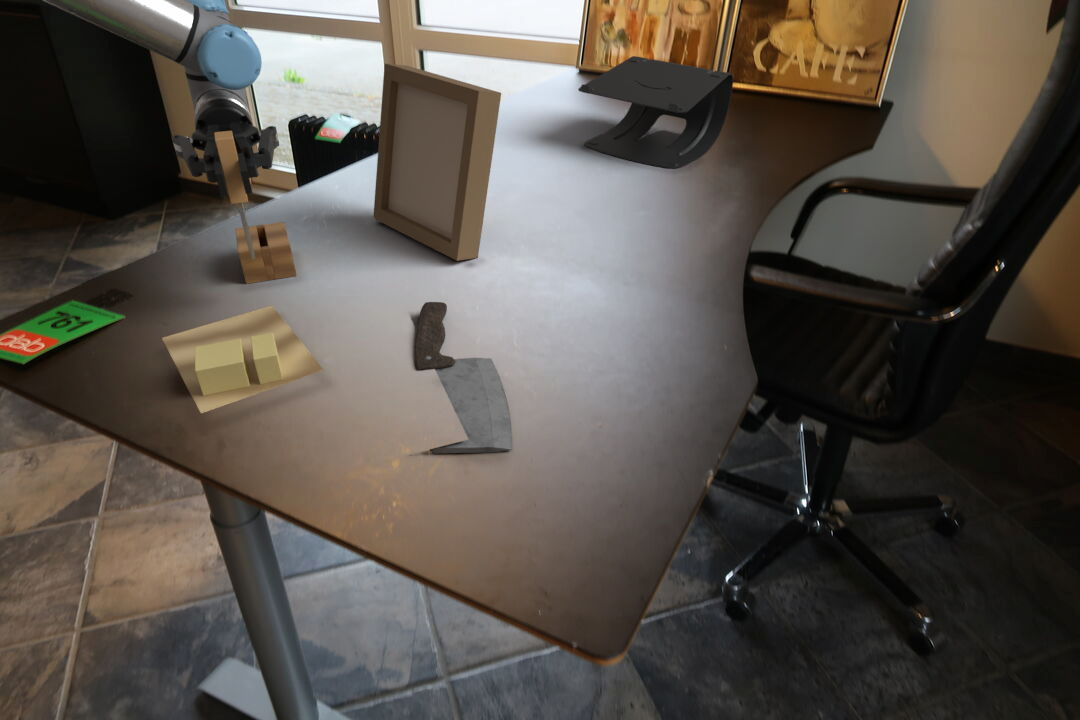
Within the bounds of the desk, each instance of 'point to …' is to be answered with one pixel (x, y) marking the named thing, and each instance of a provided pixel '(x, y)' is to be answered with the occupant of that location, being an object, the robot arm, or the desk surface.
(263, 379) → the block
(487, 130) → the photo frame
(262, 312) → the board
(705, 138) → the laptop stand
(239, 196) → the knife
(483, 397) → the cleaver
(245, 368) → the butter
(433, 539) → the desk surface
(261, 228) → the knife block
